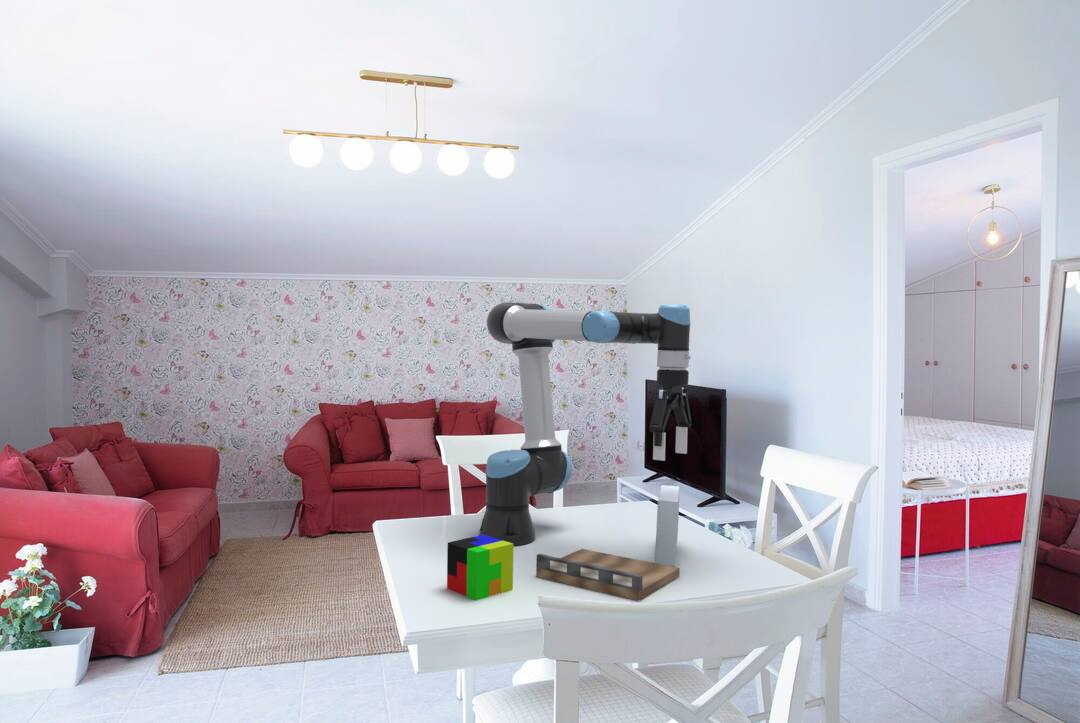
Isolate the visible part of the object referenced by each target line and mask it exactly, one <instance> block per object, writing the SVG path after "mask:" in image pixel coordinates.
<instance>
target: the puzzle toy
mask: <svg viewBox="0 0 1080 723" xmlns="http://www.w3.org/2000/svg"><path fill="white" fill-rule="evenodd" d="M446 556H447V557H446V558H447V560H446V561H447V562H446V565H447V567H446V572H447V573H446V588H447V589H448V590H450V591H452V592H455V593H457V594H460V595H462V596H465V597H467V598H470V599H472V600H475V601H479V600H482V599H486V597H487V598H490V597H493V596H496V594H497V595H499V593H500V594H503V593H506V591H507V592H510V591H512V589H514V545H513V543H510V542H506V541H503V540H500V539H496V538H493V537H490V536H486V535H479V534H478V535H475V536H471V537H467V538H461V539H457V540H453V541H449V542H447V554H446ZM509 590H510V591H509ZM502 592H503V593H502ZM492 595H493V596H492ZM489 596H490V597H489Z"/></svg>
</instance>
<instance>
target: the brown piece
mask: <svg viewBox="0 0 1080 723" xmlns="http://www.w3.org/2000/svg"><path fill="white" fill-rule="evenodd" d="M535 566H536V567H535V568H536V574H535V576H536V578H540V579H543V580H548V581H552V582H557V583H561V584H565V585H569V586H574V587H578V588H583V589H587V590H592V591H596V592H599V593H603V594H609V595H613V596H617V597H621V598H626V599H630V600H633V599H634V601H637V600H640V601H642V600H644V599H645V598H647V597H649V596H650V595H652V594H653V593H654V592H657V591H659V590H660V589H661V588H663V587H665V586H666V585H668V584H670V583H671V582H674V581H675V580H676V579H678V578H680V567H676V566H667V565H662V564H657V563H654V562H651V561H646V560H641V559H636V558H630V557H626V556H621V555H616V554H611V553H606V552H601V551H596V550H592V549H591V550H590V549H585V548H580V549H579V550H576V551H574V552H571V553H569V554H567V555H565V556H562V557H556V556H553V555H547V554H542V553H538V554H536V564H535Z"/></svg>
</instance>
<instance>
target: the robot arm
mask: <svg viewBox="0 0 1080 723" xmlns="http://www.w3.org/2000/svg"><path fill="white" fill-rule="evenodd" d="M691 324H692V323H691V310H690V307H689V306H688V305H685V304H661V305H660V306H658V312H657V313H641V312H640V313H639V312H638V313H637V312H625V311H611V310H603V309H601V310H575V309H574V310H569V309H568V310H566V309H563V310H562V309H552V308H550V307H549V306H547V305H542V304H540V303H539V304H538V303H525V302H524V303H523V302H511V301H510V302H509V301H507V302H501V303H499V304H497V305H495V306H494V307H493V308H492V309H491V310H490V312H489V313H488V315H487V319H486V327H487V331H488V333H489V335H490V336H491V337H492V338H493V339H494V340H495V341H496V342H499V343H503V344H505V345H506V344H507V345H508V344H509V345H511V347H512V348H511V349H512V353H513V354H514V355H515V356H517V358H518V367H519V376H520V377H519V379H520V381H519V382H520V391H521V402H522V405H521V406H522V416H523V427H524V440H525V441H524V442H523V444H522V445H521V446H520V449H509V450H507V449H505V450H501V451H497V452H494V453H492V454H490V455H489V456H488V458H487V459H486V468H485V477H486V478H485V512H484V514H483V518H482V521H481V524H480V528H479V531H478V536H479V535H486V536H490V537H493V538H496V539H500V540H503V541H506V542H510V543H513V546H521V545H527V544H529V543H530V544H531V543H532V542H533V541H535V540H536V529H535V528H534V524H533V521H532V517H531V513H530V497H534V496H539V495H543V494H553V493H554V492H557V491H560V490H562V489H563V488H565V486H566V485H567V484H568V483H569V481H570V479H571V475H572V472H573V470H572V467H573V466H572V461H571V459H570V457H569V456H568V454H567V453H566V452H565V451H564V450H562V443H561V442H560V441H559V440H558V439H557V438H556V433H555V432H556V431H555V419H554V418H555V417H554V406H553V396H552V384H551V373H550V360H549V355H550V353H551V352H552V351H553V349H554V347H553V344H554V342H556V341H558V340H559V341H574V342H588V343H589V342H590V343H596V344H607V343H608V344H614V343H615V344H618V343H620V344H632V345H635V344H655V345H656V344H657V352H656V353H657V356H656V357H657V358H656V360H657V361H656V367H657V368H658V369H657V370H656V384H657V385H658V386H662V389H656V391H655V401H654V404H653V409H652V414H651V418H650V422H649V426H648V427H649V428H648V430H649V432H650V433H651V432H652V433H653V440H652V441H653V443H652V444H653V445H652V446H653V448H652V460H654V461H655V460H656V461H662V462H663V461H664V462H665V461H666V435H667V434H666V433H667V432H665V429H666V426H667V423H668V420H669V418H670V414H671V412H672V411H673V413H674V417H675V422H676V423H677V426H676V427H675V454H676V453H677V454H685V455H686V454H688V429H689V428H692V417H691V416H692V415H691V410H690V403H689V397H688V388H687V387H685V386H688V385H689V376H690V372H689V371H688V368H689V367H690V366H689V363H690V360H691V358H692V356H691V355H690V332H691V331H690V330H691V326H692V325H691ZM683 386H684V387H683Z"/></svg>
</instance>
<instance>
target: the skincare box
mask: <svg viewBox="0 0 1080 723" xmlns="http://www.w3.org/2000/svg"><path fill="white" fill-rule="evenodd" d="M660 486H661V487H660V490H659V493H658V499H657V513H656V530H655V531H656V533H655V534H656V535H655V548H654V560H653V561H654V562H653V563H657V564H662V565H667V566H672V567H676V566H675V565H676V558H677V549H678V548H677V547H678V545H677V544H678V533H679V518H680V516H679V514H680V486H677V485H676V486H675V485H667V484H666V485H664V484H662V485H660Z"/></svg>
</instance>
